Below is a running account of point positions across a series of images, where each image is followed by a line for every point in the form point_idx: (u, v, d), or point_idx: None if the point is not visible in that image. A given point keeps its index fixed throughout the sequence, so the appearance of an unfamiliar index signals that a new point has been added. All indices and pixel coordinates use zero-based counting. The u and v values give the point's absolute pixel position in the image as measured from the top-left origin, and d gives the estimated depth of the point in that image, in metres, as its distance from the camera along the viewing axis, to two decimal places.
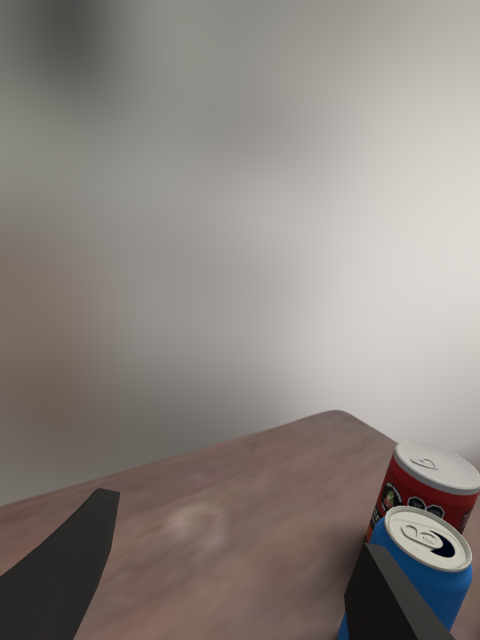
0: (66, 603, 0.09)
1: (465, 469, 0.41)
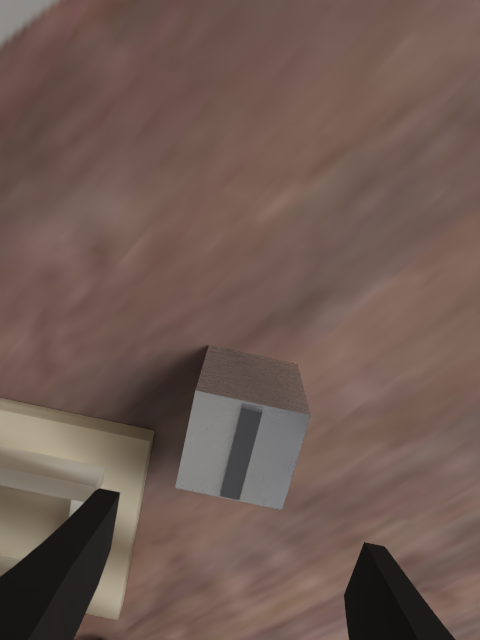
0: (66, 603, 0.09)
1: None
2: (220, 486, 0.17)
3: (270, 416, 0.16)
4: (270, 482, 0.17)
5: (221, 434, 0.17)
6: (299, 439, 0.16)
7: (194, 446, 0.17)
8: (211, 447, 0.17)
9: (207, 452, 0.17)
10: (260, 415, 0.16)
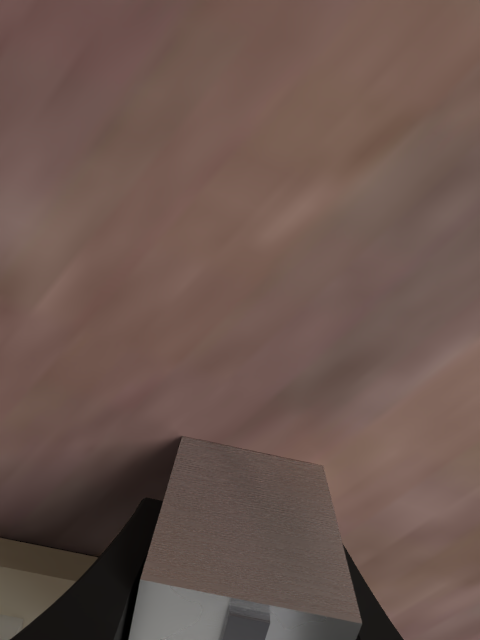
0: (127, 615, 0.09)
1: None
2: None
3: (285, 624, 0.08)
4: None
5: None
6: None
7: None
8: None
9: None
10: (266, 628, 0.08)
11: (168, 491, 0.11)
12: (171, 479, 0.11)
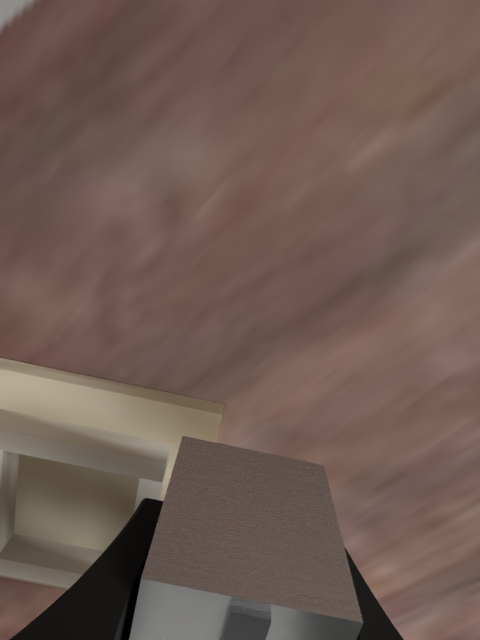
0: (127, 615, 0.09)
1: None
2: None
3: (286, 623, 0.08)
4: None
5: None
6: None
7: None
8: None
9: None
10: (267, 627, 0.08)
11: (169, 490, 0.11)
12: (172, 478, 0.11)
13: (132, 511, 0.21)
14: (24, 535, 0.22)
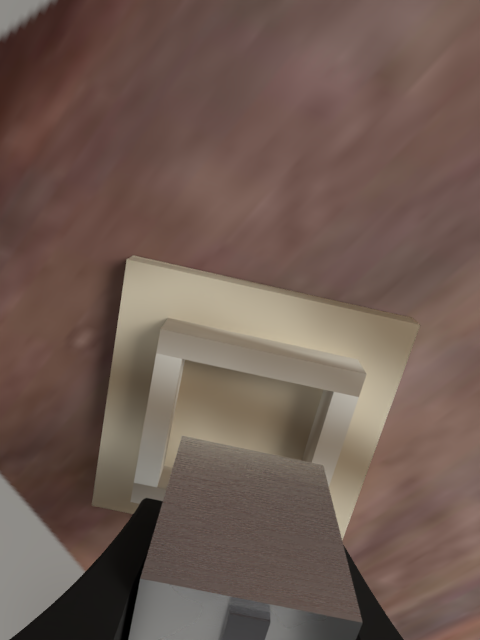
0: (127, 615, 0.09)
1: None
2: None
3: (285, 624, 0.08)
4: None
5: None
6: None
7: None
8: None
9: None
10: (266, 627, 0.08)
11: (168, 490, 0.11)
12: (171, 478, 0.11)
13: (301, 439, 0.19)
14: None
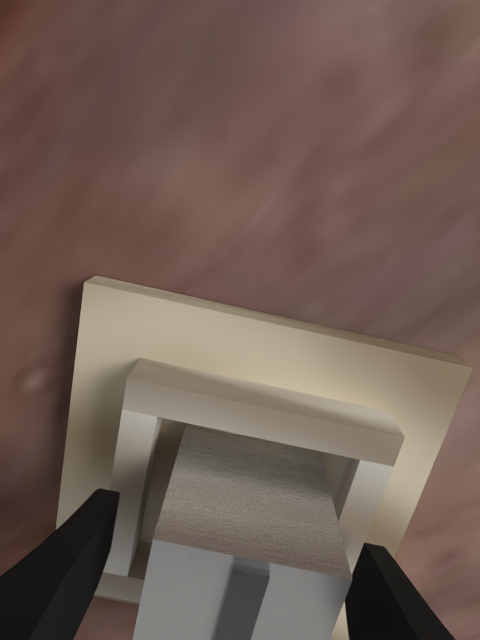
0: (66, 603, 0.09)
1: None
2: None
3: (283, 580, 0.09)
4: None
5: (199, 606, 0.10)
6: (332, 615, 0.10)
7: (153, 623, 0.10)
8: (182, 624, 0.10)
9: (177, 632, 0.10)
10: (265, 582, 0.09)
11: (176, 466, 0.12)
12: (178, 456, 0.12)
13: None
14: None
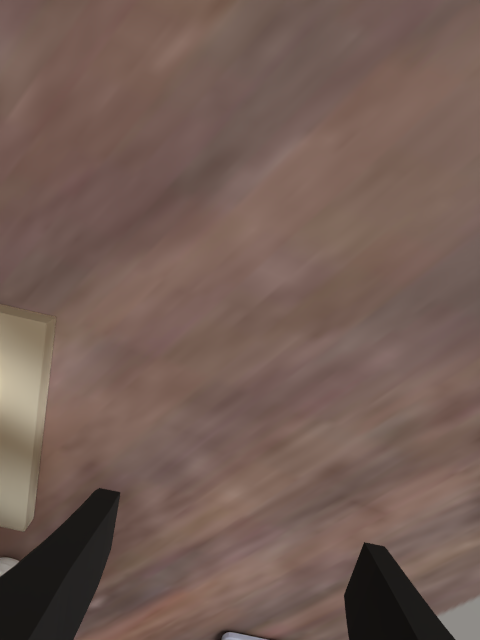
0: (66, 603, 0.09)
1: None
2: None
3: None
4: None
5: None
6: None
7: None
8: None
9: None
10: None
11: None
12: None
13: None
14: None
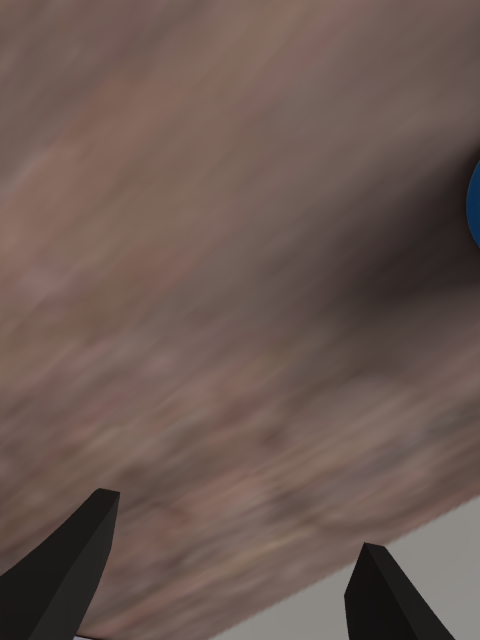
0: (66, 603, 0.09)
1: None
2: None
3: None
4: None
5: None
6: None
7: None
8: None
9: None
10: None
11: None
12: None
13: None
14: None
